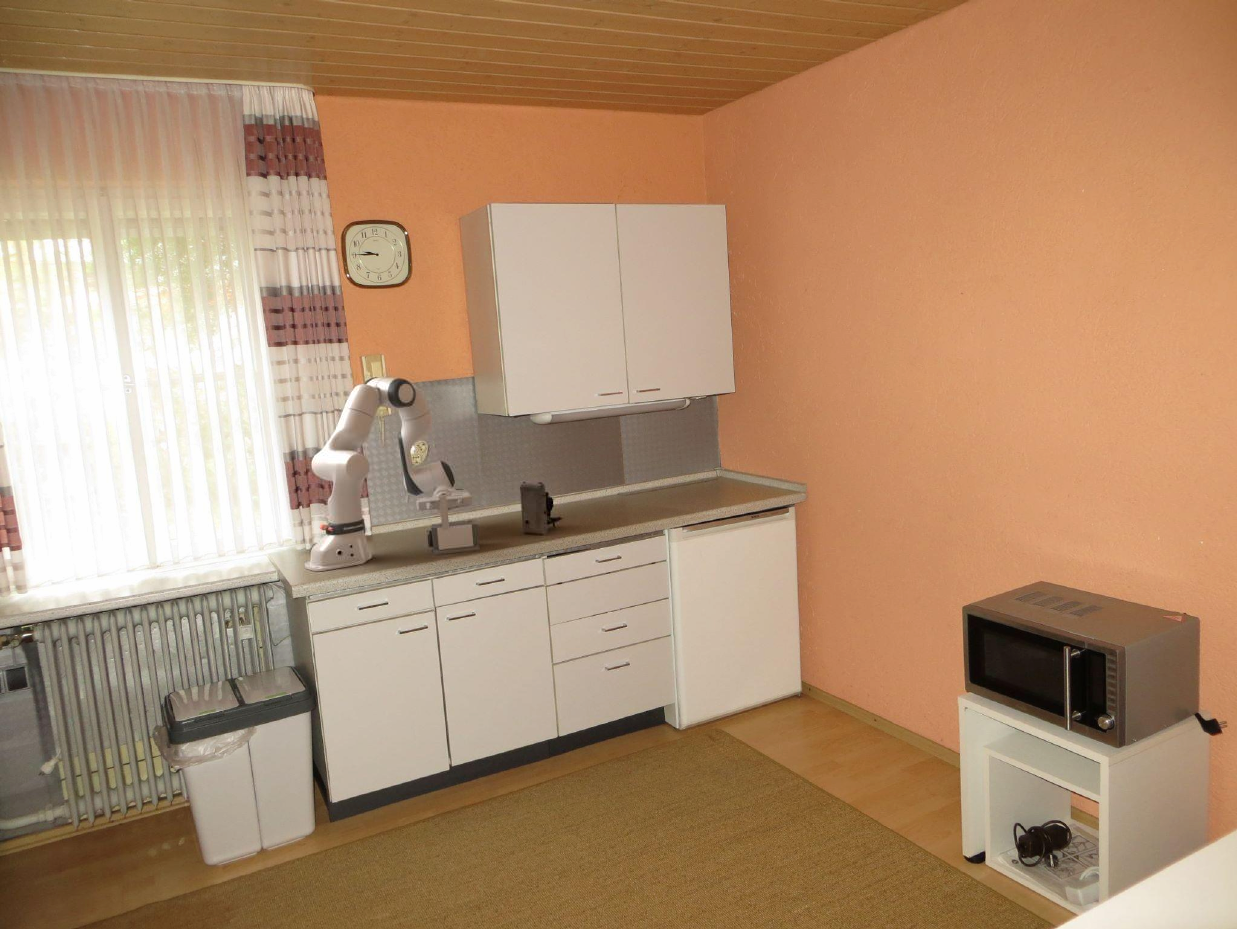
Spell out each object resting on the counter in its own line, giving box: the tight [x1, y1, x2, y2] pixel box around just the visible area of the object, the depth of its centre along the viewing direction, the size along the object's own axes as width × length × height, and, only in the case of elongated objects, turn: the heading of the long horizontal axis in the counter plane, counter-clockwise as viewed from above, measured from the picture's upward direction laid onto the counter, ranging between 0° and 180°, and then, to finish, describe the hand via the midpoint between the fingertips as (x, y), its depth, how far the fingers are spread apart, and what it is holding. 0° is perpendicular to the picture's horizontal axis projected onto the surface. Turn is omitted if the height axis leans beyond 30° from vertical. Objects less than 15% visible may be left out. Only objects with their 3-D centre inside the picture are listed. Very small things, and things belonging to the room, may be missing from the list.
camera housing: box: [426, 518, 480, 556], centre depth 321 cm, size 18×10×10 cm, turn 101°
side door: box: [437, 495, 473, 550], centre depth 316 cm, size 12×2×19 cm, turn 101°
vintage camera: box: [519, 481, 565, 536], centre depth 342 cm, size 10×16×20 cm, turn 149°
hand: (444, 505), depth 327 cm, fingers open, 8 cm apart
